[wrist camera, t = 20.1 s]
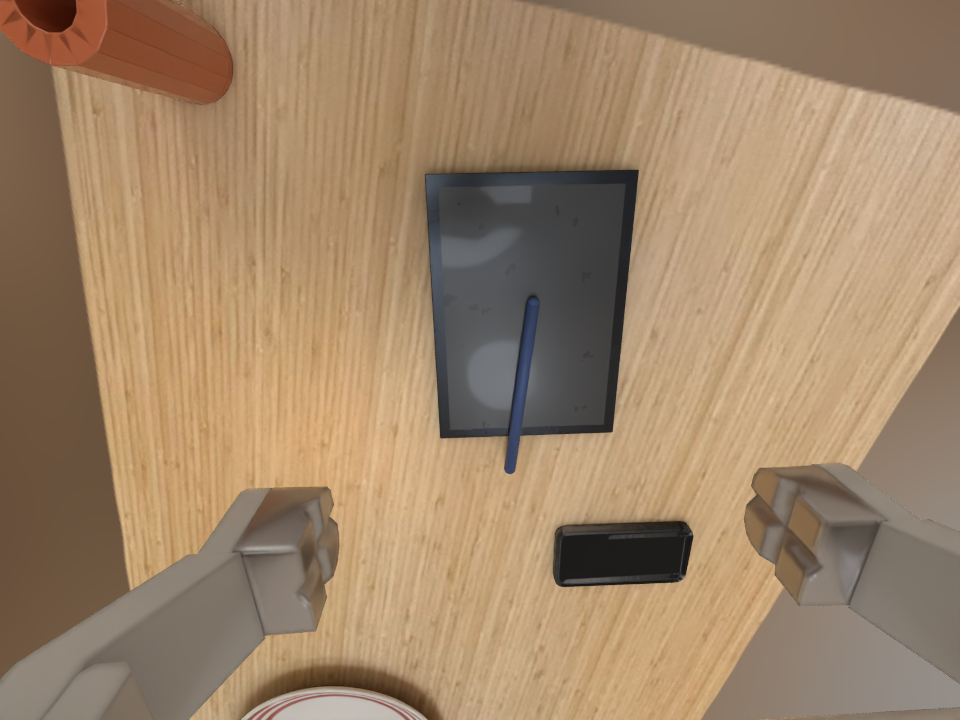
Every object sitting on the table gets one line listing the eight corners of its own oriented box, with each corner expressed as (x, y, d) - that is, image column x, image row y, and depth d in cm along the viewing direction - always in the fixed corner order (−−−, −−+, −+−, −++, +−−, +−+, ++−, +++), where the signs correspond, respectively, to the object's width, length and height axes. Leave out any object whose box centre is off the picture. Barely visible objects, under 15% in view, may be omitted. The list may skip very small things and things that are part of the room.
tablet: (425, 174, 37) (424, 174, 36) (634, 169, 38) (639, 169, 37) (440, 433, 46) (440, 439, 45) (609, 427, 46) (612, 433, 45)
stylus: (533, 299, 39) (508, 477, 45) (543, 298, 39) (516, 474, 46) (525, 296, 40) (501, 471, 46) (534, 295, 40) (509, 468, 47)
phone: (684, 582, 53) (554, 587, 52) (680, 574, 54) (552, 579, 53) (695, 527, 50) (557, 532, 50) (690, 520, 51) (555, 525, 51)
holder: (142, 15, 33) (-46, -80, 21) (224, 14, 33) (85, -81, 21) (164, 104, 35) (4, 66, 23) (240, 103, 35) (123, 64, 23)
